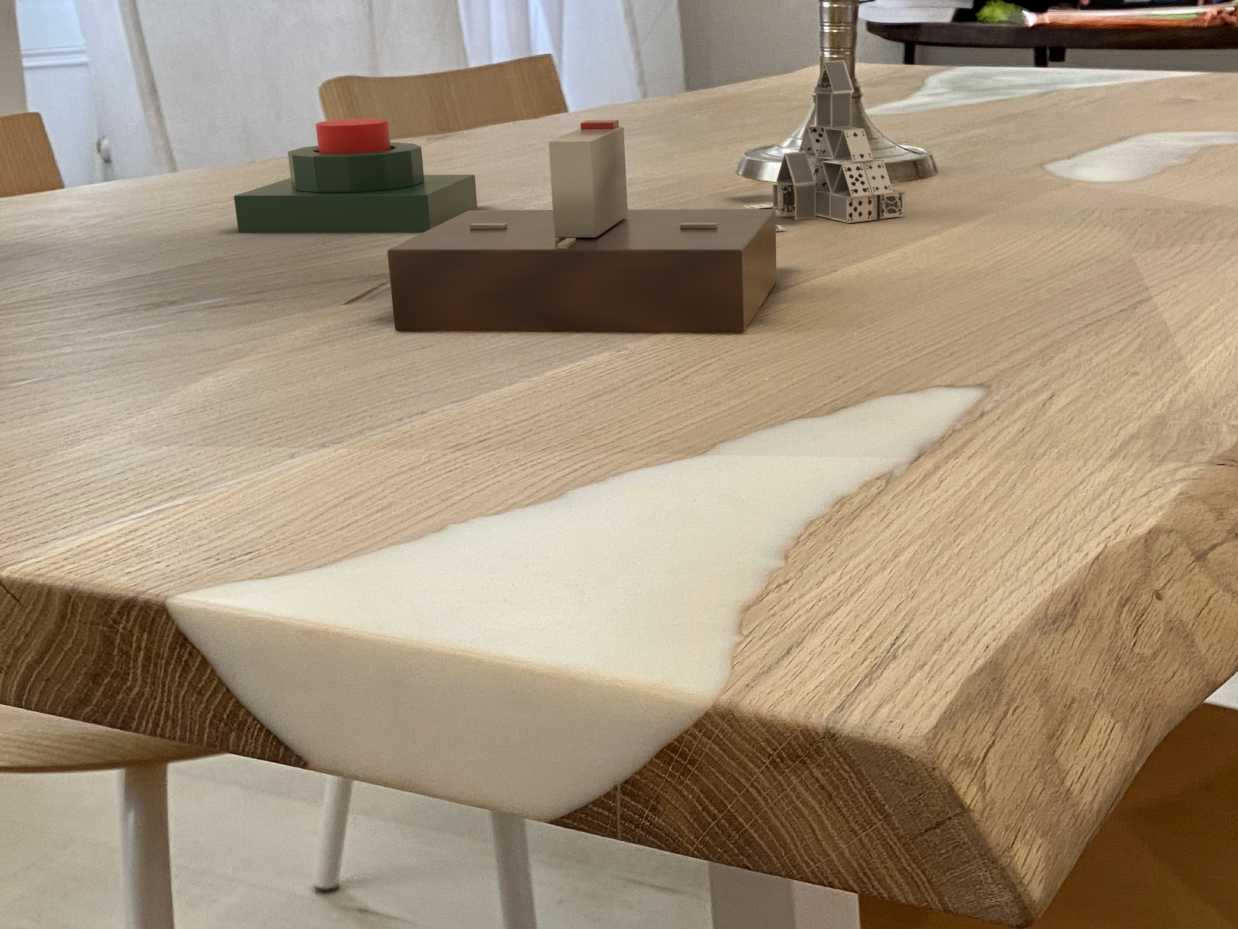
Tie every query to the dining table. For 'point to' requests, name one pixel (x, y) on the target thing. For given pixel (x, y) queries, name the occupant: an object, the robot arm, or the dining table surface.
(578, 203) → the beige block
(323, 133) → the button
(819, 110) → the house of cards
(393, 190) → the button block
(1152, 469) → the dining table surface
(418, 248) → the brown slotted block
